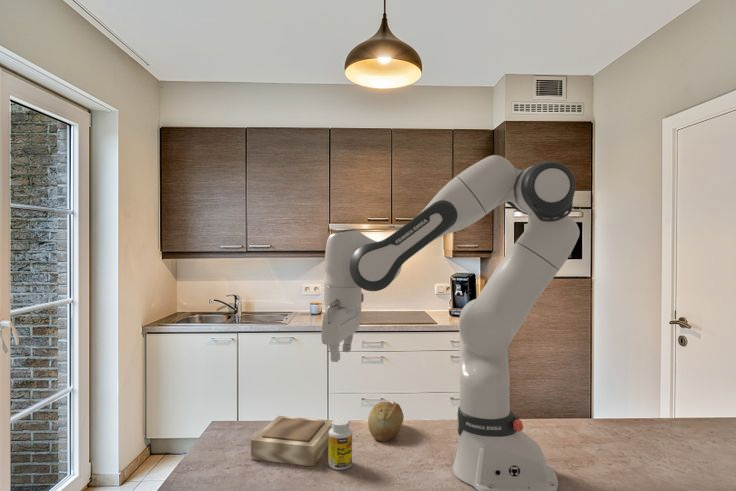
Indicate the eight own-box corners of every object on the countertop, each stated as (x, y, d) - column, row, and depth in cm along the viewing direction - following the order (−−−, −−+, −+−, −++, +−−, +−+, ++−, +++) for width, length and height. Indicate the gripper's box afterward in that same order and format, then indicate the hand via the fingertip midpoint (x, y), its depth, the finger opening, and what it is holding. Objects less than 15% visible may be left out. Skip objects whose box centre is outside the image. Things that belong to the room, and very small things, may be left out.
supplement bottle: (335, 473, 102) (335, 428, 102) (324, 463, 106) (324, 420, 106) (356, 466, 105) (356, 423, 105) (344, 457, 109) (344, 415, 110)
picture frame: (333, 437, 121) (333, 419, 121) (313, 466, 105) (313, 444, 105) (278, 432, 124) (278, 414, 124) (250, 459, 109) (250, 438, 109)
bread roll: (405, 422, 131) (405, 395, 131) (401, 445, 116) (401, 414, 116) (372, 420, 133) (372, 393, 133) (365, 442, 118) (365, 412, 118)
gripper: (343, 304, 95) (341, 368, 95) (365, 294, 115) (364, 347, 115) (314, 302, 97) (313, 366, 97) (341, 292, 117) (340, 346, 117)
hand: (341, 356), depth 106 cm, fingers open, 8 cm apart
